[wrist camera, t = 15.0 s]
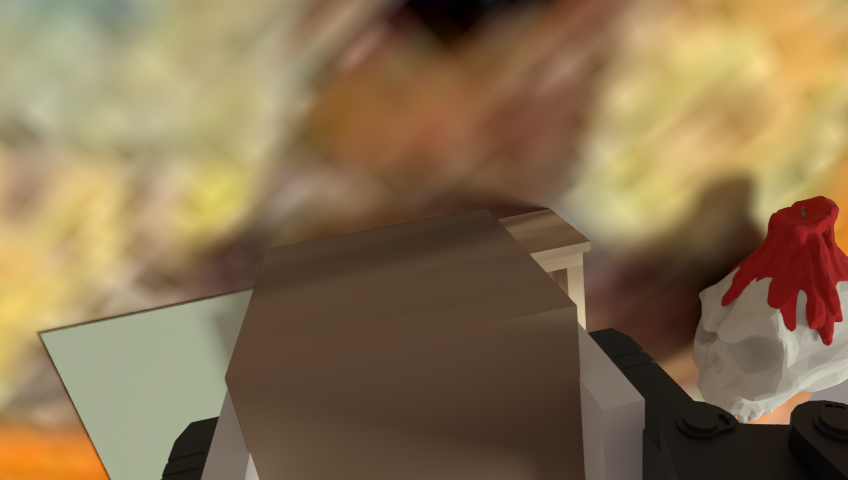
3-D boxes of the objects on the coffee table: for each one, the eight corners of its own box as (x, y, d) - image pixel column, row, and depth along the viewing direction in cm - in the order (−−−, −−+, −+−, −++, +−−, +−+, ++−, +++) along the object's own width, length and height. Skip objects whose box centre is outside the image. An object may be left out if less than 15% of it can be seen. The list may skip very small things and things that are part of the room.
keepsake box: (297, 259, 35) (291, 303, 30) (550, 208, 37) (590, 241, 31) (352, 471, 42) (356, 540, 36) (564, 420, 44) (599, 479, 38)
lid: (46, 328, 35) (19, 356, 32) (297, 276, 36) (294, 298, 33) (134, 511, 41) (118, 550, 38) (346, 460, 42) (348, 493, 39)
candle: (669, 382, 43) (678, 195, 40) (798, 364, 45) (818, 181, 41) (751, 451, 35) (773, 220, 31) (908, 426, 36) (946, 202, 32)
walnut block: (266, 248, 14) (224, 378, 9) (486, 207, 15) (576, 305, 9) (314, 431, 17) (304, 627, 11) (506, 389, 17) (589, 556, 12)
